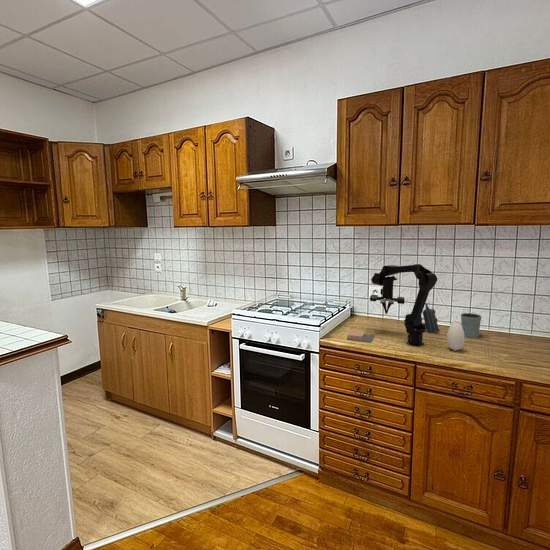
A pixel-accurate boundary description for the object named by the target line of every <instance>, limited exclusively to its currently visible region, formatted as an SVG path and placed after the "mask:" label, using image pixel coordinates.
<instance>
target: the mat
mask: <svg viewBox="0 0 550 550" xmlns="http://www.w3.org/2000/svg"><path fill="white" fill-rule="evenodd" d="M346 338H347V341H352V342H353V341H355V342H363V343H370V344H371V343H372V342H373V339H374V338H375V335H374V334H368V333H367V334H366V333H365V336H364V338H363V339H362V340H358V339H349V338H348V337H346Z"/></svg>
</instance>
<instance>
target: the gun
mask: <svg viewBox="0 0 550 550" xmlns="http://www.w3.org/2000/svg"><path fill="white" fill-rule="evenodd" d="M424 306H425V307H424V308H425V309H423V311H422V315H423V317H422V325H423V326H424V327H425V329H426V331H427V332H428V333H438V332H440V331H441V329H439V326H438V318H437V317H436V309H434V308H430V307H429V304H428V303H425V305H424Z"/></svg>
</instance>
